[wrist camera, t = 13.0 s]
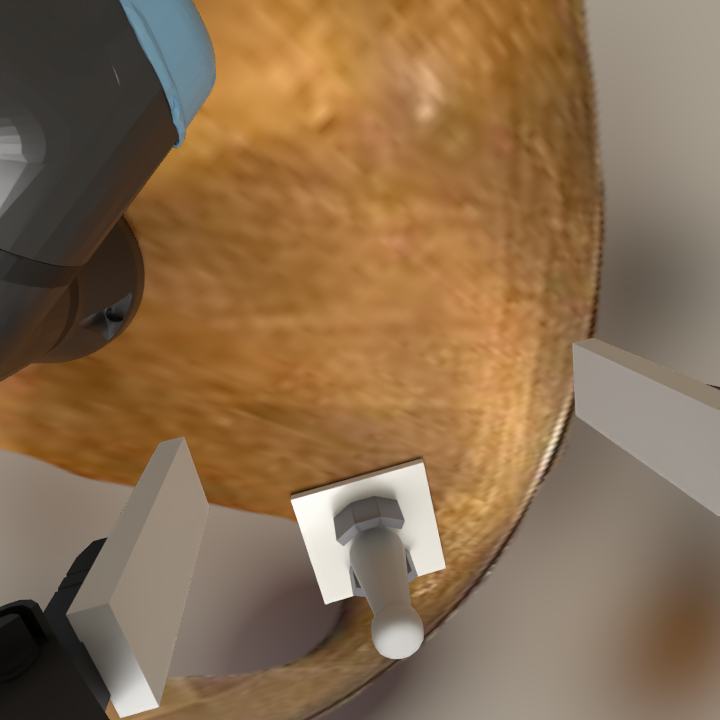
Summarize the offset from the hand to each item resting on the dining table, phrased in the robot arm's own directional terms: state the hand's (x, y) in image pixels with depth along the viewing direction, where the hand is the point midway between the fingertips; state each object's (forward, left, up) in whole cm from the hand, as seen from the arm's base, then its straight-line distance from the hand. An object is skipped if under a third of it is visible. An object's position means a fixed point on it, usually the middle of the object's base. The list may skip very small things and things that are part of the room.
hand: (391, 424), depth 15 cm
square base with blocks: (-2, -26, -28) cm, 39 cm away
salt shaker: (-2, -27, -28) cm, 39 cm away
